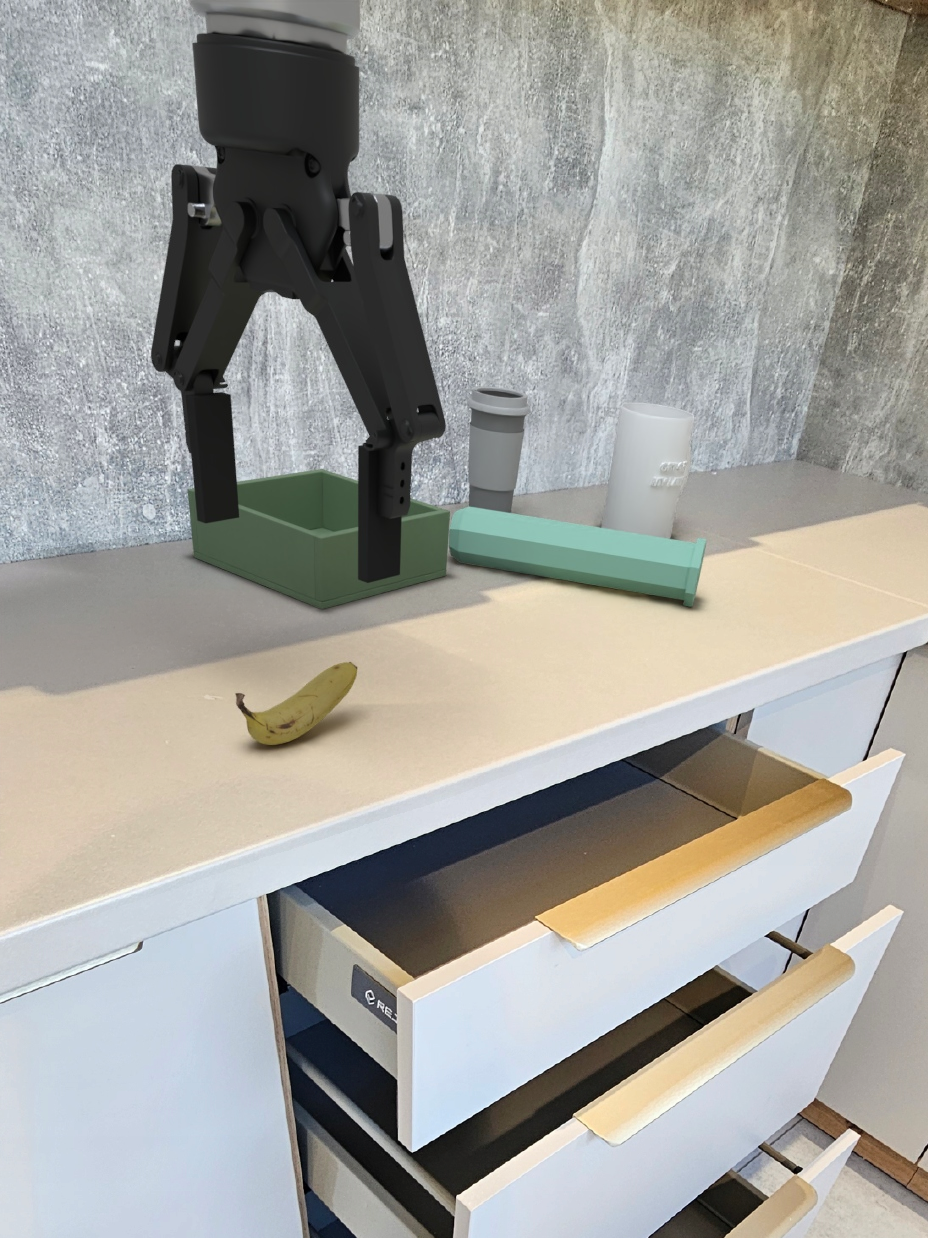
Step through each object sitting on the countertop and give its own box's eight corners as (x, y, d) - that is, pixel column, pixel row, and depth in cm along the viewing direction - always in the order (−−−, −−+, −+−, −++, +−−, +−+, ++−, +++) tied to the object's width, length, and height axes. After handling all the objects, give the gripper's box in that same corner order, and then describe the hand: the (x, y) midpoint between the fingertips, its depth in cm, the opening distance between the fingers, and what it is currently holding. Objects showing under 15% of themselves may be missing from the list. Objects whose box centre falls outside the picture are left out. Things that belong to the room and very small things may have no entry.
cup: (452, 509, 114) (460, 383, 106) (508, 512, 116) (520, 387, 108) (467, 528, 109) (477, 396, 101) (526, 530, 111) (540, 401, 103)
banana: (342, 711, 71) (341, 654, 69) (365, 723, 70) (366, 665, 68) (228, 749, 65) (223, 688, 62) (252, 762, 64) (248, 701, 61)
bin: (193, 557, 92) (187, 489, 89) (322, 531, 103) (321, 468, 99) (322, 609, 86) (321, 538, 82) (446, 576, 96) (450, 511, 92)
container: (446, 491, 95) (706, 533, 92) (460, 505, 101) (706, 545, 98) (437, 560, 97) (691, 602, 94) (451, 570, 103) (692, 610, 100)
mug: (703, 535, 117) (730, 414, 109) (645, 549, 110) (669, 421, 102) (646, 517, 121) (668, 399, 113) (587, 529, 114) (605, 404, 106)
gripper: (37, 12, 48) (110, 505, 63) (430, 39, 38) (410, 618, 53) (164, 37, 53) (205, 490, 67) (544, 67, 43) (497, 592, 57)
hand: (295, 547), depth 60 cm, fingers open, 13 cm apart
